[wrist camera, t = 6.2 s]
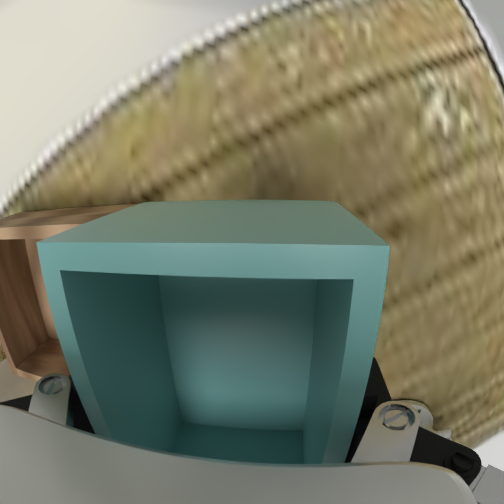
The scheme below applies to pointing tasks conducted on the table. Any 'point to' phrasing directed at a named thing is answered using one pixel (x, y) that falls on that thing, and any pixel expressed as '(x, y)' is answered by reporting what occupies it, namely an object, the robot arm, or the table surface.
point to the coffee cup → (13, 383)
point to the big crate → (33, 288)
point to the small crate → (221, 325)
